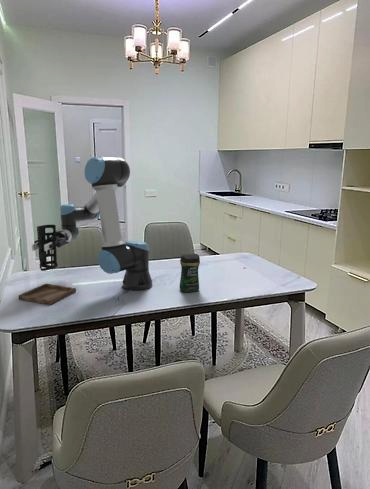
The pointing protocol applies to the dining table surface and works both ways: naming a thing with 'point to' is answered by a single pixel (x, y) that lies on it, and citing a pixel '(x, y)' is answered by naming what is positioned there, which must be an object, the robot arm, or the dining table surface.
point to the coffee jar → (189, 272)
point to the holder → (41, 243)
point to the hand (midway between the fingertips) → (38, 247)
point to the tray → (47, 294)
